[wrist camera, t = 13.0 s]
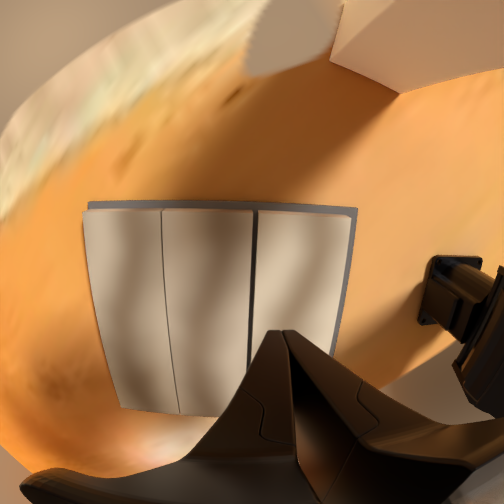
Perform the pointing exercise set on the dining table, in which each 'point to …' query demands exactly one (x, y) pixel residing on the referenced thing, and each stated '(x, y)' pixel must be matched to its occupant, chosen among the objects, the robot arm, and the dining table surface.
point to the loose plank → (299, 274)
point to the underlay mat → (254, 237)
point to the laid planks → (172, 304)
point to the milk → (419, 40)
